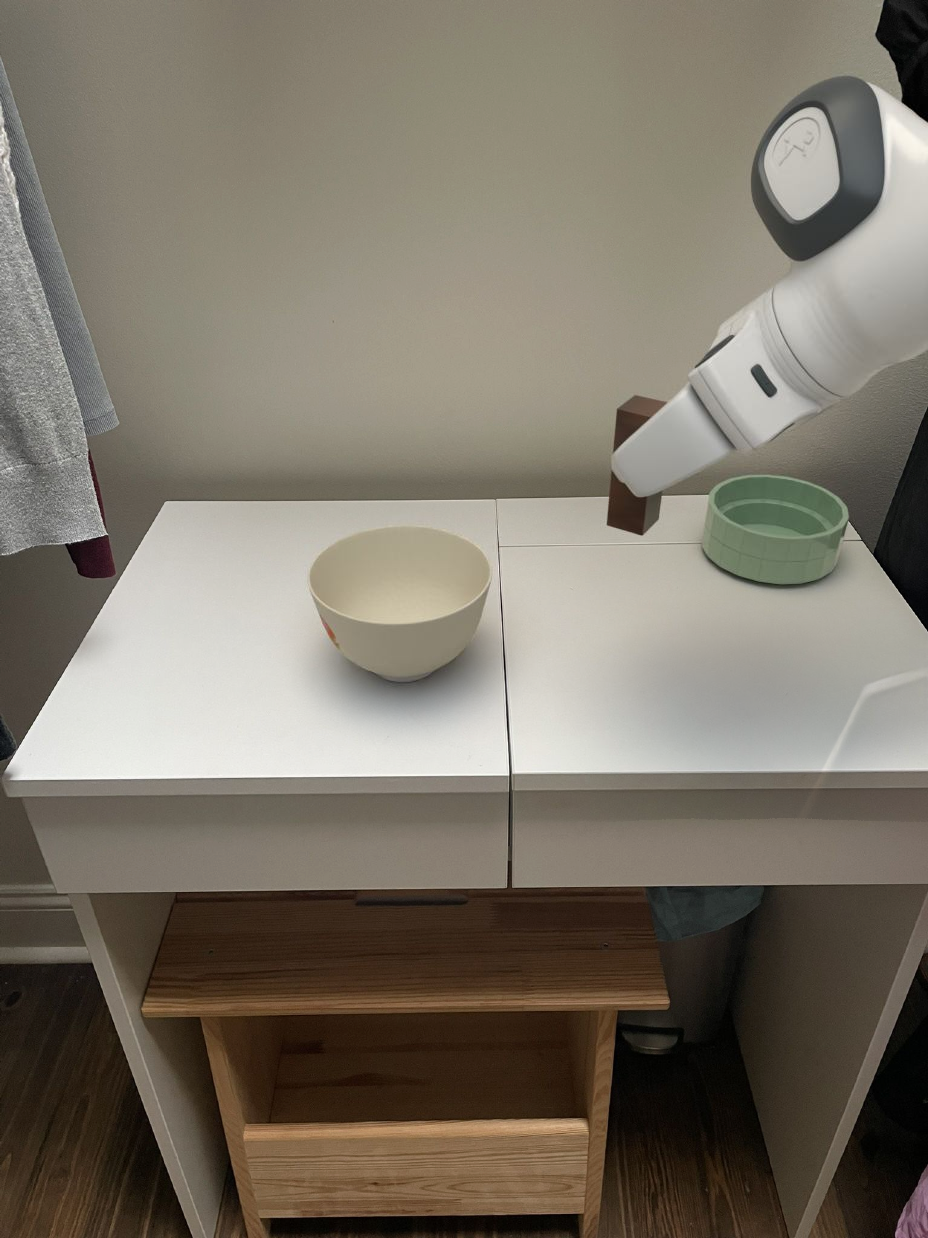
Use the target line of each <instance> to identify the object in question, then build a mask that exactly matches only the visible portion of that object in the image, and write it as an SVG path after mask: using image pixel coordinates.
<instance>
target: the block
mask: <svg viewBox="0 0 928 1238" xmlns="http://www.w3.org/2000/svg"><path fill="white" fill-rule="evenodd" d="M668 402H669V401H664V400H659V399H654V398H650V397H645V396H642V395H637V394H634V395H633V396H631V397H630V398H629V399H628V400H626V401H625V402H624V403H623V404H621V405H620V406H618V407H617V408H616V414H615V426H614V438H613V448H612V454H613V453H614V452H615V451H616V450H617V449H618V448H619V447H620V446H621V445H622V444H623V443H624V442H625V441H626V440H627V439H628V438H629V437H630V436H631V435H632V434H633V433H635V432H636V431H637V430H638V429H639V428H640V427H641V426H642V425H643V424H644V423H646V422H647V421H648V420H649V419H650V418H651V417H652V416H653V415H654V414H656V413H657V412H658V411H659V410H660V409H661V408H662V407H663V406H664V405H665V404H667V403H668ZM610 470H611V471H610V481H609V492H608V504H607V516H606V526H608V527H611V528H615V529H617V530H621V531H624V532H627V533H631V534H634V535H637V536H642V537H643V536H644V535H645V534H647V532H648V531H649V530H651V528H652V527H653V526H654V525H655V524H656V523H657V522H658V521H659V520H660V514H661V513H660V512H661V506H662V498H663V497H662V496H663V490H662V491H660V492H658V493H655V494H653V495H650V496H646V497H637V496H635V495H634V494H633V493H632V492H631V491H630V489H629V488H628V487H627V485H626V484H625V483H623V482H621V481H619V479H618V478H617V476H616V475H615V474H614V472H613V471H612V468H611V469H610Z"/></svg>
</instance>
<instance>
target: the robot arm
mask: <svg viewBox="0 0 928 1238" xmlns="http://www.w3.org/2000/svg"><path fill="white" fill-rule="evenodd" d="M750 193H751V199H752V203H753V206H754V208H755V210H756V212H757V214H758V216H759V218H760V220H761V221H762V223H763V225H764V227H765V228H766V230H767V231H768V233H769V235H770V236H771V238H772V239H773V241H774V242H775V244H776V245H777V246H778V248H779V249H780V250H781V252H783V254H785V255H786V256H787V257H788V258H789V263H790V266H789V270H788V272H787V273H786V274H785V275H784V276H783V277H781V278H780V279H779V280H778V281H776V282H775V283H774V284H772V285H771V286H769V287H768V288H767V289H765V291H763V292H761V293H760V294H759V295H758V296H756V297H755V298H754V299H752V300H751V301H750V302H748V303H747V304H745V305H744V306H743V307H742V308H741V309H739V310H738V311H736V312H735V313H734V314H732V315H731V316H730V317H728V318H727V319H725V320H724V321H723V322H722V323H721V324H720V326H719V327H718V330H717V333H716V337H715V338H714V340H713V342H712V344H711V345H710V346H709V347H710V348H709V349H708V351H707V352H706V354H704V356H703V358H701V360H700V361H699V362H698V363H697V364H696V365H694V368H693V369H692V370H691V371H689V373H688V374H687V380H688V381H687V383H686V384H685V385H684V386H682V388H681V389H680V390H679V391H678V392H677V393H676V394H675V395H674V396H673V397H672V398H671V399H670V400H668V401H667V402H668V403H667V404H665V405H664V406H663V407H662V408H661V409H660V410H659V411H658V412H657V413H656V414H654V415H653V416H652V417H651V418H650V419H649V420H648V421H647V422H646V423H644V424H643V425H642V426H641V427H640V428H639V429H638V430H637V431H636V432H635V433H633V434H632V435H631V436H630V437H629V438H628V439H627V440H626V441H625V442H624V443H623V444H622V445H621V446H620V447H619V448H618V449H617V450H616V451H615V452H614V453H613V452H612V455H611V457H610V463H611V466H610V467H611V469H612V471H613V472H614V474H615V475H616V476H617V478H618V479H619V481H621V482H623V483H625V484H626V485H627V487H628V488H629V489H630V491H631V492H632V493H633V494H634V495H635V496H637V497H646V496H650V495H653V494H655V493H658V492H660V491H662V492H663V491H664V490H666V489H668V488H670V487H673V486H674V485H676V484H678V483H680V482H682V481H684V480H687V479H688V478H690V477H691V476H694V475H696V474H698V473H700V472H702V471H704V470H705V469H708V468H710V467H711V466H713V465H715V464H717V463H719V462H721V461H722V460H724V459H726V458H727V457H729V456H731V455H732V454H733V453H735V452H737V451H738V453H739V454H740V455H741V456H743V457H745V456H746V457H747V456H749V455H751V454H753V453H755V452H756V451H758V450H759V449H761V448H763V447H764V446H766V445H767V444H769V443H770V442H772V441H774V440H775V439H776V438H778V436H780V435H784V434H785V433H789V432H792V431H795V430H796V429H798V428H800V427H801V426H804V425H805V424H806V423H808V422H809V421H811V420H813V419H814V418H816V417H818V416H819V415H822V414H823V413H824V412H827V411H828V410H830V409H832V408H833V407H835V406H837V405H838V404H839V403H841V402H843V401H844V400H847V399H848V398H849V397H852V396H854V394H856V393H857V392H859V391H860V390H861V389H862V388H863V387H864V386H865V385H866V384H867V383H868V382H869V381H870V380H871V379H872V378H873V377H875V375H876V374H878V373H879V372H880V371H882V370H884V369H886V368H888V367H891V366H894V365H896V364H899V363H904V362H906V361H907V362H908V361H910V360H912V359H915V358H916V357H918V356H920V355H921V354H923V353H925V352H926V351H928V121H926V120H925V119H923V118H922V117H920V116H919V115H918V114H917V113H916V112H915V111H913V109H911V108H909V107H908V106H907V105H906V104H904V103H903V102H901V101H900V100H898V99H897V98H896V97H895V96H893V95H892V94H890V93H889V92H887V91H885V90H884V89H883V88H881V87H879V86H878V85H875V84H873V83H871V82H868V81H865V80H863V79H861V78H860V77H857V76H852V75H839V76H833V77H829V78H827V79H824V80H821V81H819V82H817V83H814V84H812V85H811V86H809V87H807V88H806V89H804V90H803V91H801V92H800V93H798V94H797V95H796V96H795V97H793V98H792V99H791V100H790V101H788V102H787V104H786V105H785V106H784V107H783V108H782V109H781V110H780V111H779V112H778V113H777V114H776V116H775V117H774V118H773V120H772V121H771V122H770V124H769V125H768V127H767V129H766V130H765V132H764V133H763V135H762V137H761V138H760V141H759V143H758V145H757V148H756V151H755V153H754V157H753V161H752V165H751V171H750Z"/></svg>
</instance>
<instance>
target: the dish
mask: <svg viewBox="0 0 928 1238" xmlns="http://www.w3.org/2000/svg"><path fill="white" fill-rule="evenodd" d="M849 519H850V516H849V510H848V507H847V505H846V504H845V503H844V501H843V500H842V499H841V498H840V497H839V496H837V495H836V494H834V493H833V492H832V491H830V490H828V489H827V488H824V487H822V486H820V485H817V484H814V483H812V482H810V481H806V480H803V479H799V478H794V477H790V476H785V475H784V476H783V475H776V474H775V475H774V474H747V475H746V474H745V475H741V476H735V477H730V478H728V479H726V480H723V481H721V482H719V483H718V484H716V485H715V486H714V487H713V488H712V489H711V490H710V492H708V500H707V505H706V512H705V518H704V524H703V529H702V535H701V548H702V549H703V551H704V553H705V555H706V556H707V558H708V559H710V560H711V561H712V562H714V564H716V566H718V567H719V568H721V569H723V570H726V571H727V572H730V573H731V574H734V575H736V576H738V577H741V578H744V579H748V580H752V581H755V582H758V583H767V584H776V585H795V584H796V585H799V584H805V583H808V582H813V581H817V580H821V579H822V578H824V577H825V576H827V575H828V574H830V573H832V572H833V570H834V568H835V567H836V565H837V564H838V561H839V558H840V553H841V550H842V546H843V542H844V538H845V535H846V532H847V527H848V523H849Z"/></svg>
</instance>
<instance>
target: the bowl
mask: <svg viewBox="0 0 928 1238" xmlns="http://www.w3.org/2000/svg"><path fill="white" fill-rule="evenodd" d="M307 571H308V572H307V576H306V577H307V580H306V581H307V586H308V589H309V592H310V596H311V598H312V601H313V603H314V605H315V608H316V610H317V612H318V615H319V617H320V621H321V623H322V625H323V628H324V629H325V632H326V633H327V635H328V637H329V639H330V640H331V642H332V644H333V645H334V646H335V647H336V648H337V650H338V651H339V652H340V653H341V654H342V655H343V656H344V657H346V658H347V659H348V660H349V661H351V662H352V663H353V664H355V665H357V666H358V667H361V668H362V669H364V670H366V671H369V672H372V673H374V674H376V675H377V676H379V677H381V679H384V680H386V681H390V682H395V683H410V682H415V681H419V680H422V679H424V678H427V677H428V676H430V675H431V674H433V672H434V671H435V670H437V669H440V668H442V667H443V666H445V665H447V664H448V663H449V662H451V661H452V660H454V659H455V658H456V657H458V656H459V655H460V654H461V653H462V651H464V649H466V647H467V646H468V644H469V643H470V642H471V641H472V639H473V637H474V635H475V633H476V632H477V629H478V626H479V624H480V621H481V618H482V615H483V612H484V608H485V605H486V601H487V597H488V595H489V590H490V587H491V583H492V579H493V567H492V563H491V561H490V559H489V557H488V555H487V554H486V552H485V551H484V550H483V549H482V548H481V547H480V546H479V545H477V544H476V543H475V542H474V541H472V540H470V539H468V538H467V537H464V536H462V535H460V534H457V533H455V532H453V531H449V530H445V529H441V528H437V527H432V526H424V525H411V524H410V525H407V524H405V525H403V524H402V525H387V526H380V527H374V528H369V529H365V530H361V531H357V532H355V533H351V534H348V535H347V536H344V537H342V538H340V539H338V540H336V541H334V542H332V543H331V544H329V545H327V546H326V547H325V548H324V549H322V550H321V551H320V552H319V553H318V554H317V555H316V557H314V558H313V561H312V562H311V563H310V566H309V568H308V570H307Z"/></svg>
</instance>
